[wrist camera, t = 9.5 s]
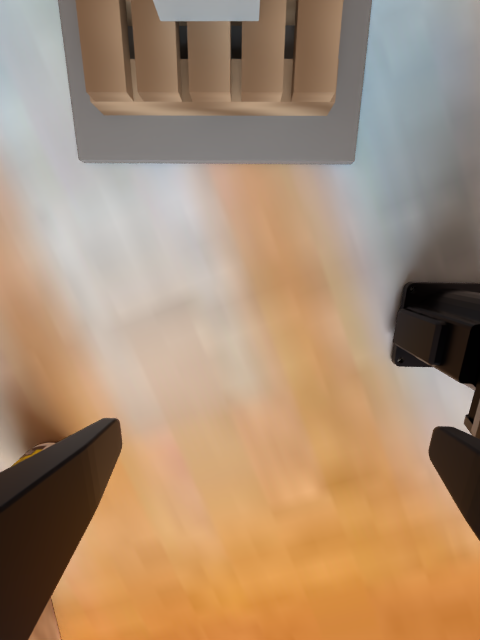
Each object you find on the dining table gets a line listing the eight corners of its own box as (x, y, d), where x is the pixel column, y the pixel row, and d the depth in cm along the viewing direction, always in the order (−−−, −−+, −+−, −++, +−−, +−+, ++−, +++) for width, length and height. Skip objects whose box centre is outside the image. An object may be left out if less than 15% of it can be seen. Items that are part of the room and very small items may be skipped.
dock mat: (381, -130, 14) (387, -148, 13) (350, 164, 17) (354, 161, 17) (48, -126, 14) (39, -143, 13) (84, 162, 17) (78, 159, 17)
